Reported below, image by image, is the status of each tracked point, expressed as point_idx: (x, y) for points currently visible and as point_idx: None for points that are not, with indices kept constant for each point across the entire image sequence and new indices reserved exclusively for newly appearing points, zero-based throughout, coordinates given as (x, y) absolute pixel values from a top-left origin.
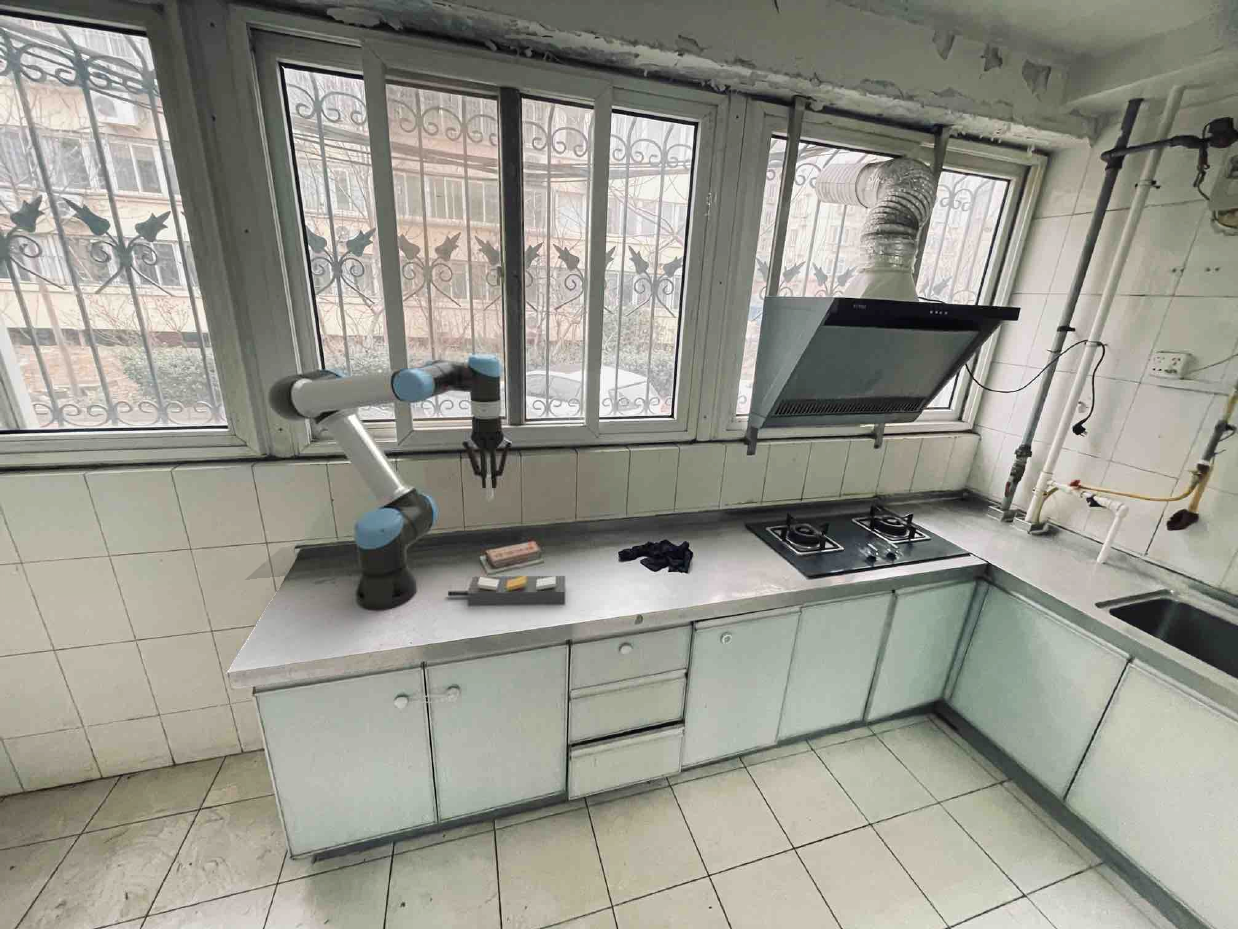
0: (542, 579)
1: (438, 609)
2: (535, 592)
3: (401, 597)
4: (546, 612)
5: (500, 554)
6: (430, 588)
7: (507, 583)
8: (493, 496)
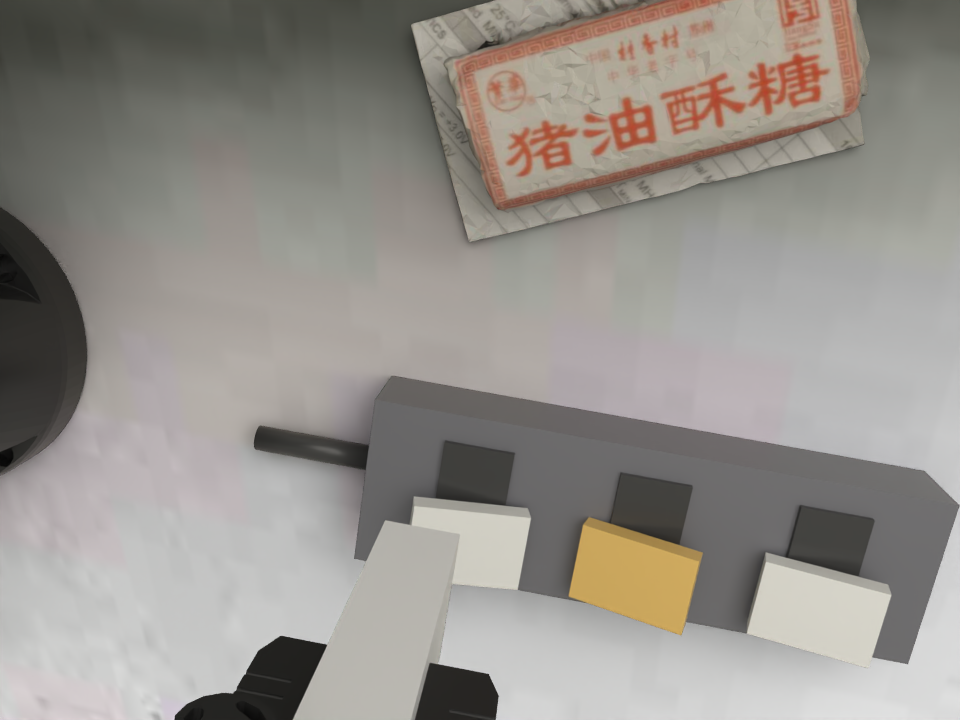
0: (799, 581)
1: (229, 520)
2: (734, 630)
3: (22, 459)
4: (766, 658)
5: (554, 139)
6: (155, 323)
7: (579, 555)
8: (458, 543)
